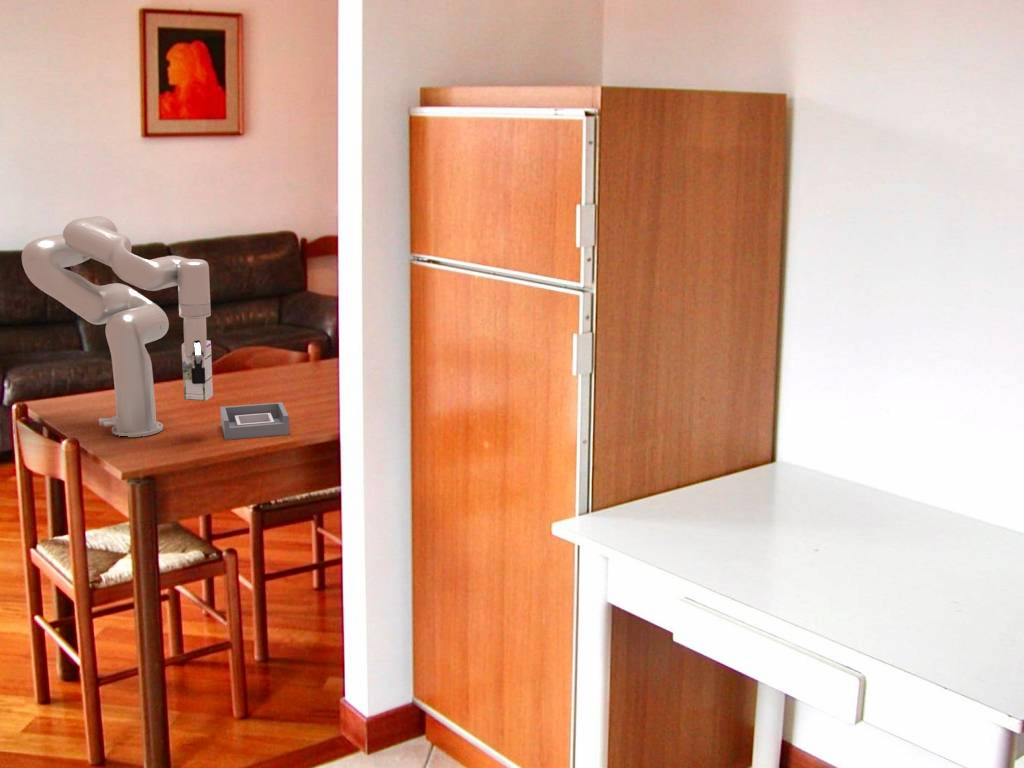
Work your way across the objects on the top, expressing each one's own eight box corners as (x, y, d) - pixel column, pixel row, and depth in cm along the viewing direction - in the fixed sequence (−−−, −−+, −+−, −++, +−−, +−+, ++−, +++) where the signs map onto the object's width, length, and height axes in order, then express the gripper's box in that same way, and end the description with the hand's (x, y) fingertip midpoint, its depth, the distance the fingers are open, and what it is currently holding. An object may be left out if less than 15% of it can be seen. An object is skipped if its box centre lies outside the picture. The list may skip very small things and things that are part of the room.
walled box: (225, 439, 296) (224, 420, 295) (221, 425, 309) (220, 407, 308) (289, 434, 301) (288, 415, 300) (282, 420, 314) (282, 402, 313)
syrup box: (213, 395, 298) (211, 339, 295) (205, 401, 292) (203, 344, 289) (191, 394, 299) (189, 338, 295) (183, 400, 293) (180, 343, 289)
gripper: (177, 303, 297) (180, 372, 301) (180, 317, 281) (183, 389, 285) (208, 302, 299) (211, 370, 303) (212, 316, 283) (215, 387, 287)
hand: (197, 379), depth 294 cm, fingers closed on syrup box, 7 cm apart
